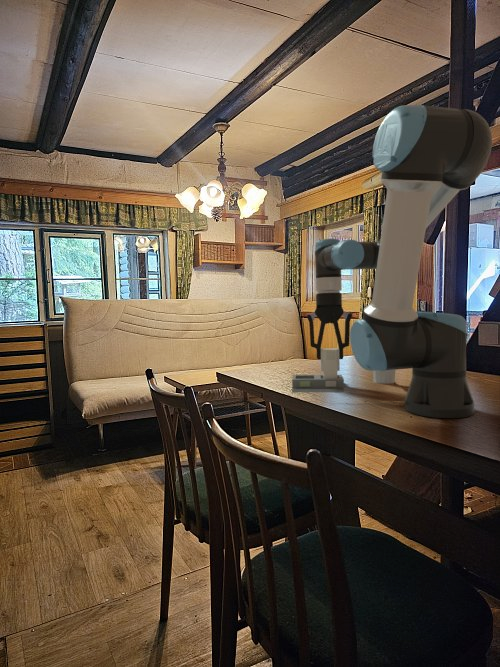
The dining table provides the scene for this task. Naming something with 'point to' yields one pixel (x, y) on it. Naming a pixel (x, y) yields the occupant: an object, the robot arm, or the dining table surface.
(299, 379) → the panel
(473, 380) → the dining table surface
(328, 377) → the plug
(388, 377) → the cup
